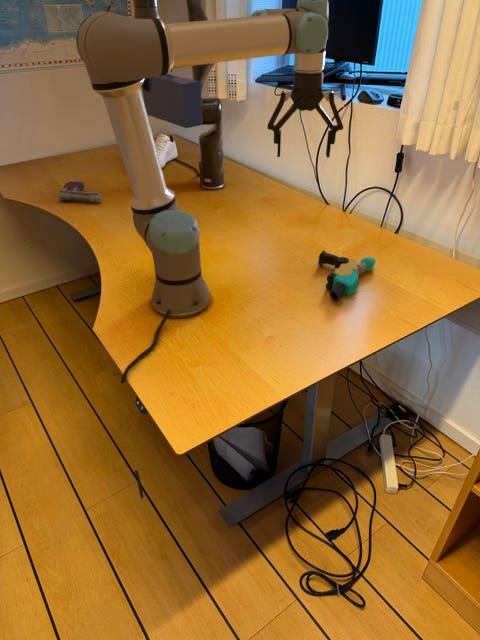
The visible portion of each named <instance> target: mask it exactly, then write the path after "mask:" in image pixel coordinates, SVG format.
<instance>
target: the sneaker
mask: <svg viewBox="0 0 480 640" xmlns="http://www.w3.org/2000/svg"><path fill="white" fill-rule="evenodd" d="M154 142H155V145H156V149H157V153H158V157H159V161H160V164H161V168H164V167H165V166H166V164H167V163H168V162H170V161H172V160H174V158H175V159H177V157H178V156H179V155H178V149H177V144H176V140H175V136H174V135H173V134H164V133H161V134H158V135H157V137H156V139H154Z"/></svg>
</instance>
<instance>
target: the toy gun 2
mask: <svg viewBox="0 0 480 640" xmlns="http://www.w3.org/2000/svg"><path fill="white" fill-rule="evenodd" d="M324 264H325V265H330V266H334V270H333V271H332V272H330V273H328V275H327V277H326V281H327V283H326V284H325V288H326V290H328V291H329V296H330V298H331V300H332V301H333V302H336V303H338V302H339V301H340V300H341V299H342V298H343V297H344V294H345V295H347V296H349V295H352V294H353V293H355V292H356V290H357V289H358V287H359V284H360V280H359V276H360V275H362V274H363V273H365V272H369V271H371V270H372V269H373V268H374V267H375V265H376V259H375V257H373V256H365V257H363V258H362V259H360V262H359V263H358V261H357V259H354V258H352V257H351V258H350V257H344V256H337V255H335V254H332V253H328V252H326V250H322V251H321V252H320V253H319V256H318V266H323V265H324Z"/></svg>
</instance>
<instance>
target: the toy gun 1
mask: <svg viewBox="0 0 480 640" xmlns="http://www.w3.org/2000/svg"><path fill="white" fill-rule="evenodd" d="M84 189H85V184H84V181H82V180H70V181H68V182H65V183H64V185H63V189H60V190H59V193H58V195H57V196H56V197H57V198H58V199H59V200H61V201H71V202H85V203H97V204H98V203H99V204H101V200H102V198H103V197H102V194H101V193H99V192H94V191H89V192H88V191H84Z"/></svg>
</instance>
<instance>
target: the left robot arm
mask: <svg viewBox="0 0 480 640" xmlns="http://www.w3.org/2000/svg"><path fill="white" fill-rule="evenodd" d="M329 12H330V11H329V0H297V2H296V5H295V7H293V8H264V9H257V10H254V11H253V12H252V13H251V15H250V16H242V17H232V18H220V19H208V20H206V21H195V22H189V21H185V22H174V23H165V22H164V21H163V20H162V18H161V19H159V18H156V19H137V18H134V17H130V16H127V15H126V16H125V15H122V14H119V13H115V12H112V11H109V10H105V9H104V10H96V11H94V12H91V13H89V14H88V15H86V16H85V17H84V18H83V19H81V20H80V23H79V24H78V26H77V29H76V32H75V46H76V51H77V54H78V56H79V57H80V59H81V61H82V62H83V63H84V65H85V68H86V72H87V75H88V78H89V81H90V84H91V87H92V91H93V92H95V93H96V94H98V95H100V96H101V98H102V99H103V102H104V105H105V108H106V112H107V115H108V119H109V121H110V125H111V127H112V132H113V134H114V138H115V141H116V143H117V147H118V150H119V154H120V156H121V161H122V163H123V166H124V169H125V173H126V176H127V179H128V182H129V186H130V188H131V191H132V195H133V196H132V198H131V199H130V201H129V205H130V209H131V213H132V220H133V226H134V229H135V231H136V233H138V235H139V236H140V237H141V239H142V240H143V242H144V243H145V245H146V246H147V248H148V249H149V251H150V253H151V256H152V260H153V261H152V262H153V268H154V274H155V275H154V276H155V281H154V284H153V290H152V294H151V305H152V308H153V310H154V311H155V312H156V313H157V314H159V315H160V316H163V317H162V320H161V321H160V323H159V325H158V327H157V329H156V331H155V333H154V337H153V341H152V343H151V345H149V347H148V348H146V349H145V350H144V351H143V352H141V353H140V354H138V356H136V357H135V359H133V360H132V361H131V362H130V363H129V364H128V365H127V366H126V368H125V369H124V371H123V373H122V376H121V379H120V383H121V384H124V383H125V382H126V379H127V376H128V373H129V371H130V370H131V369H132V368H133V367H134V365H136V364H137V363H138V362H139V361H140V360H141V359H142V358H143V357H145V356H146V355H147V354H149V353H150V352H151V351H152V350H154V348H155V347H156V345H157V343H158V339H159V334H160V332H161V330H162V328H163V326H164V324H165V323H166V321H167V319H168V318H171V319H183V318H185V319H186V318H190V317H194V316H196V315H199V314H201V313H202V312H204V311H205V310H207V308H208V307H209V306H210V303H211V294H210V290H209V288H208V286H207V284H206V281H205V278H204V277H203V275H202V262H201V261H202V259H201V247H200V246H201V243H200V235H201V234H200V229H199V226H198V221H197V219H196V218H195V217H194V216H193V215H192V214H190V213H189V212H186V211H184V212H183V211H182V210H179V206H178V202H177V199H176V194H175V192H174V190H172V189H170V188H169V187H168V186H167V184H166V180H165V176H164V172H163V169H162V168H163V167H162V168H161V164H160V161H159V157H158V153H157V149H156V145H155V138H154V134H153V131H152V127H151V123H150V119H149V115H147V111H146V107H145V103H144V99H143V91H142V87H141V86H142V84H143V82H144V80H145V78H149V77H155V76H162V75H168V74H169V73H171V72H170V71H171V69H172V70H173V69H179V68H186V67H192V66H195V65H203V64H211V63H215V64H218V63H226V62H236V61H242V60H251V59H258V58H267V57H274V56H275V57H276V56H282V55H283V56H285V55H294V57H293V59H294V60H293V69H294V70H295V71H294V72H293V81H292V91H291V92H288V91H285V90H281V92H280V97H279V101H278V103H277V105H276V107H275V109H274V111H273V113H272V115H271V116H270V118H269V121H268V123H267V126H266V127H267V130H268V131H269V130H270V131H272V132H273V144H274V145H277V156H276V157H277V158H280V157H281V145H282V144H281V141H282V129H281V128H282V127H283V126H284V125H285V124H286V122H287V121H288V120H289V119H290V118H291V116H292V115H293V114H294V113H296V111H297V110H298V111H300V112H304V111H308V112H313V111H314V110H316V112H317V113H318V114H319V115H320V117H321V118H322V120H323V121H324V123H325V124H326V125H327V127H328V129H329V130H327V138H326V139H327V140H326V149H325V150H326V151H325V156H326V158H330V156H331V145H335V143H336V136H337V132H339V131H343V130H344V125H343V122H342V119H341V116H340V114H339V110H338V109H337V105H336V103H335V93H334V91H333V90H330V91H326V92H324V91H323V83H324V72H323V70H324V69H325V61H326V48H327V47H326V46H327V41H328V39H329V25H328V24H329V20H330V19H329ZM169 75H170V74H169ZM289 99H291V100H292V102H293V103H292V104H291V106H290V107H289V108H288V109H287V111H286V112H285V113H284V114H283V115H282V116H281V118H280V119H279V120H278V121H277V122H276V120H277V119H278V116H279V115H280V113H281V111H282V109H283V107H284V105H285V102H288V100H289ZM323 99H325V101H326V102H328V104H329V106H330V108H331V111H332V113H333V116H334V119H335V122H336V125H335V124H334V123H333V120H332V119H331V118H330V117H329V115H328V114H327V113H326V111H325V110H324V108H323V107H322V105H321V104H320V103H321V102H322V100H323ZM275 122H276V123H275ZM133 472H134V474H135V479H136V483H137V487H138V491H139V496H140V499H144V497H145V495H144V491H143V486H142V482H141V477H140V473H139V470H136V469H135V470H134V471H133Z"/></svg>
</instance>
